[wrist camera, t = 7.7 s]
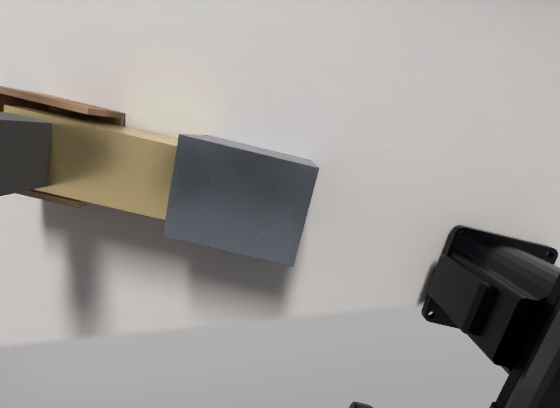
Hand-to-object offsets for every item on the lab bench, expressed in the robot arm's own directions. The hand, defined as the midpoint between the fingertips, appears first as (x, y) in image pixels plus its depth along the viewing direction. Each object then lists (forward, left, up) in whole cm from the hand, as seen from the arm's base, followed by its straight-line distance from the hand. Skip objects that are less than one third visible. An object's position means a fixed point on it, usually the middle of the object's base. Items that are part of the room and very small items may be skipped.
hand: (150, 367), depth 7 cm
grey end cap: (0, -2, -13) cm, 13 cm away
